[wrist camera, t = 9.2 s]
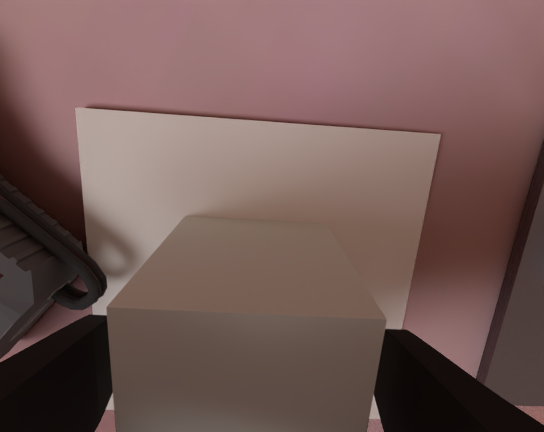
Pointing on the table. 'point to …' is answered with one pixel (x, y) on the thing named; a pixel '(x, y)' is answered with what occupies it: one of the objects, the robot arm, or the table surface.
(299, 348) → the pale grey cube box
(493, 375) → the post base
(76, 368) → the robot arm
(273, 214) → the mat
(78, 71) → the table surface
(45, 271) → the chainsaw
